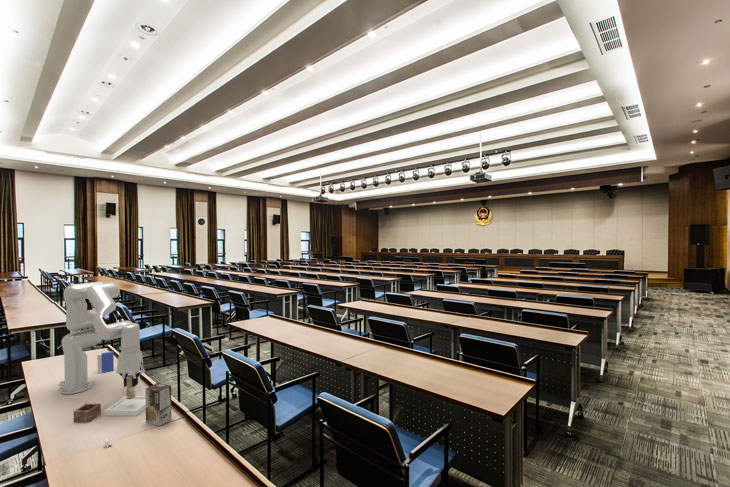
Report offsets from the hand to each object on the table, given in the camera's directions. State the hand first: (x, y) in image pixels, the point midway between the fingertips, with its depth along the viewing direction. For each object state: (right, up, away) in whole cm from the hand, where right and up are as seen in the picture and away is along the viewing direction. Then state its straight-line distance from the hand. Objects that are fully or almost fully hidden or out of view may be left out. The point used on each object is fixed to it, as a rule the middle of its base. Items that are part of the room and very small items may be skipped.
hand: (130, 385), depth 166 cm
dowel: (0, -6, 0) cm, 6 cm away
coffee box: (+20, -13, -10) cm, 26 cm away
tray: (0, -12, +1) cm, 12 cm away
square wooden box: (-14, -12, -9) cm, 20 cm away
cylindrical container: (-13, -11, +19) cm, 25 cm away
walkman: (-44, -9, +41) cm, 61 cm away
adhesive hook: (+11, -14, -30) cm, 34 cm away
